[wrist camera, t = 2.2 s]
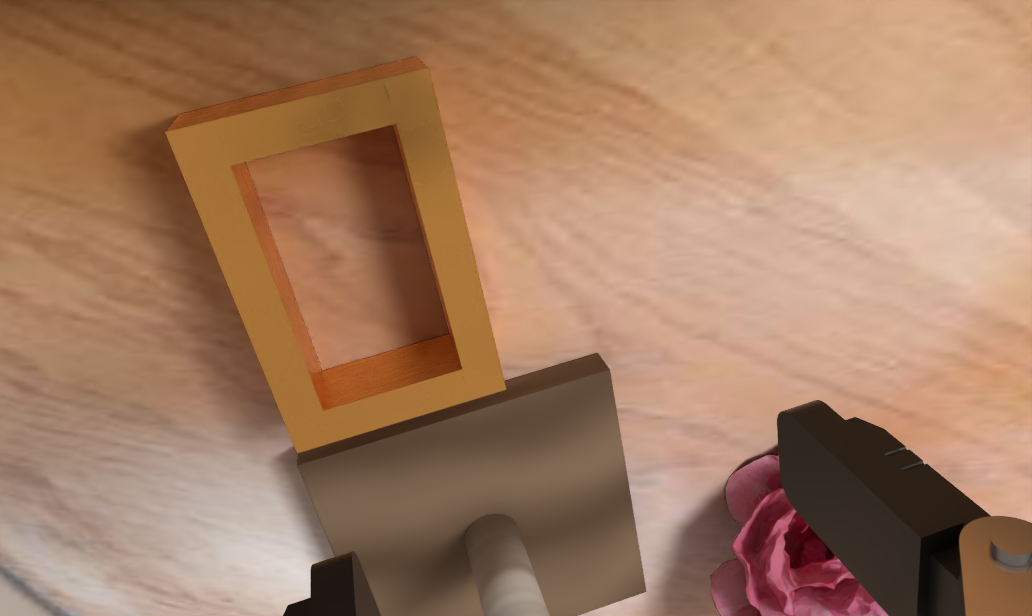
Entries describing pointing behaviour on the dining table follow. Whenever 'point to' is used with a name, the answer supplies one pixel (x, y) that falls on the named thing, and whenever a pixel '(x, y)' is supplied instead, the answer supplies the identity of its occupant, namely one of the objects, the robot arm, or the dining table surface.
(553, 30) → the dining table surface
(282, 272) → the orange rectangular frame
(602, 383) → the keeper base
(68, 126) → the dining table surface
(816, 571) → the flower
